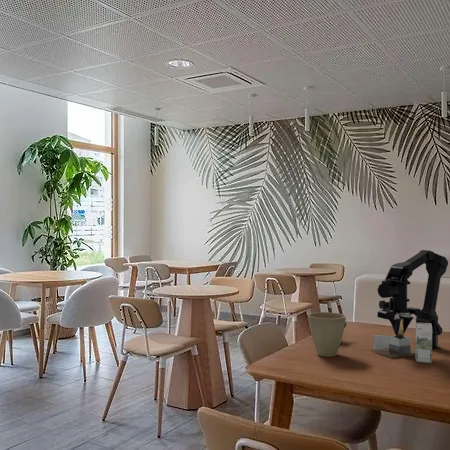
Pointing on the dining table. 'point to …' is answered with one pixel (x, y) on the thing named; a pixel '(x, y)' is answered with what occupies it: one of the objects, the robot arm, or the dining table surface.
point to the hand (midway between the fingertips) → (399, 334)
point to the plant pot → (327, 332)
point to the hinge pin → (400, 329)
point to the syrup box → (423, 343)
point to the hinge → (392, 346)
